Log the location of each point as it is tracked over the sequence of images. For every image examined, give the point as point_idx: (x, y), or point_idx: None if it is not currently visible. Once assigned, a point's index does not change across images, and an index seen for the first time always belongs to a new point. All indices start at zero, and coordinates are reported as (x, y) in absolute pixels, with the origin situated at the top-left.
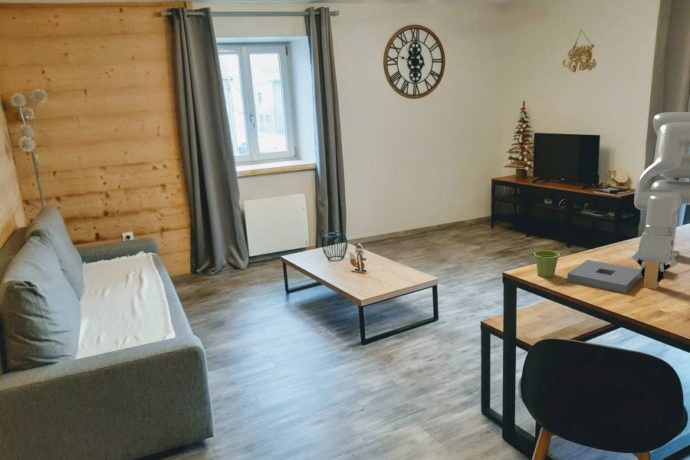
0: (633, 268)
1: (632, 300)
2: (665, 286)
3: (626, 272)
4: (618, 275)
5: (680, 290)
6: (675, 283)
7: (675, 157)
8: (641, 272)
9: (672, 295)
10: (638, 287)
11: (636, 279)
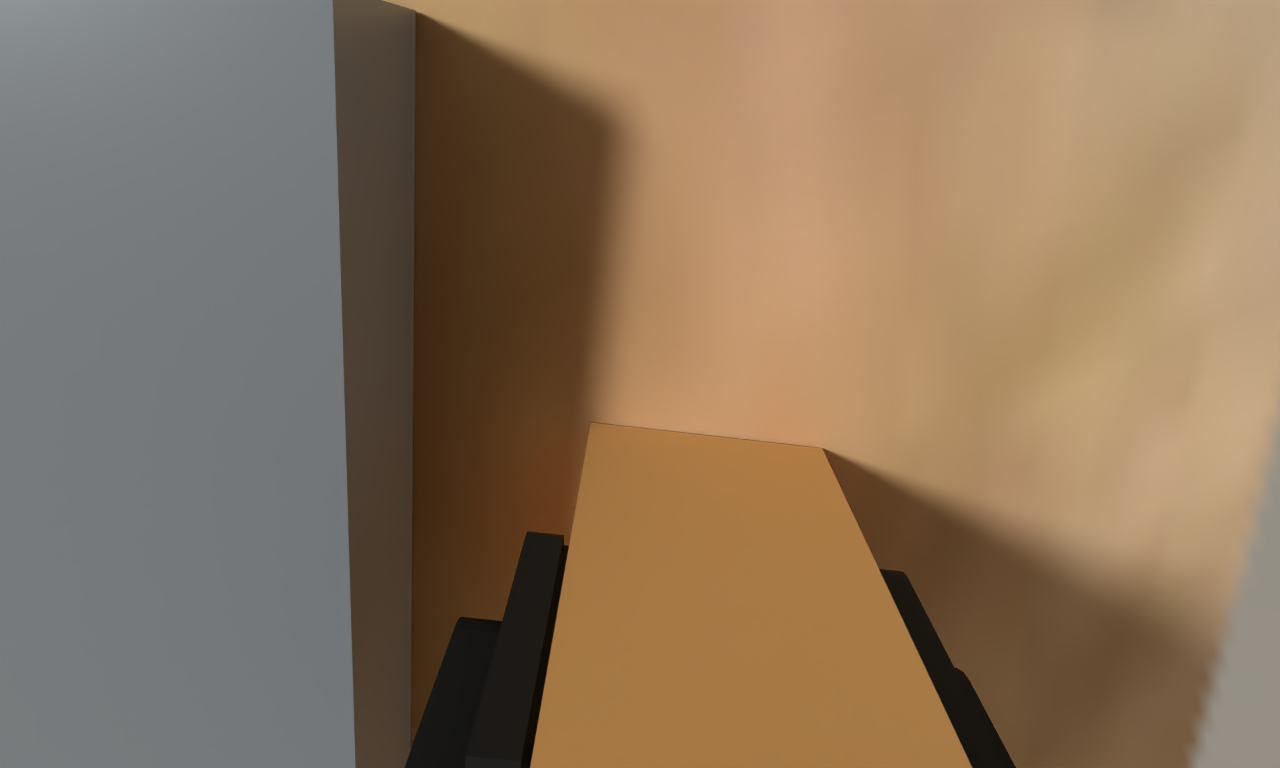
0: (38, 9)
1: None
2: (938, 407)
3: (64, 493)
4: (33, 755)
5: (1191, 495)
6: (1164, 98)
7: None
8: (356, 151)
9: (1025, 760)
10: None
11: (387, 528)
